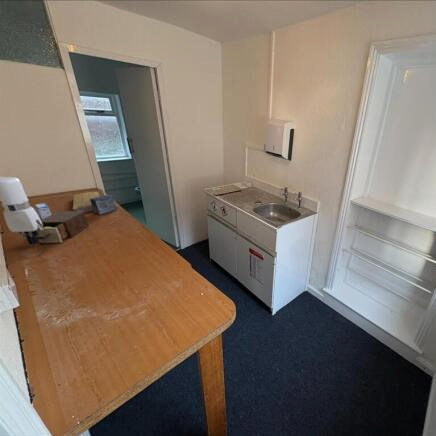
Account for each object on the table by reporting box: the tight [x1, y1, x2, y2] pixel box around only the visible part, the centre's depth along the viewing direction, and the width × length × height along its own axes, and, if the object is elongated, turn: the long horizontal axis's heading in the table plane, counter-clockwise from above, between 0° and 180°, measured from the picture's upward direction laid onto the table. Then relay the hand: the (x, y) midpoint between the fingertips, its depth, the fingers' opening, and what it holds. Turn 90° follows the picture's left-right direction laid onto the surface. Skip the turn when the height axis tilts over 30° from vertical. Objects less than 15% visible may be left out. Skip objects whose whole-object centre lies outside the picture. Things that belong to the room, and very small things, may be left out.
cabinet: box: [40, 210, 90, 239], centre depth 125 cm, size 15×13×10 cm
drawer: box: [36, 223, 69, 244], centre depth 117 cm, size 18×11×8 cm, turn 9°
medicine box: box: [34, 202, 52, 220], centre depth 140 cm, size 8×4×9 cm, turn 55°
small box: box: [90, 194, 117, 216], centre depth 153 cm, size 11×6×10 cm, turn 154°
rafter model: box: [72, 191, 100, 213], centre depth 164 cm, size 35×14×6 cm, turn 39°
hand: (34, 243), depth 108 cm, fingers closed
